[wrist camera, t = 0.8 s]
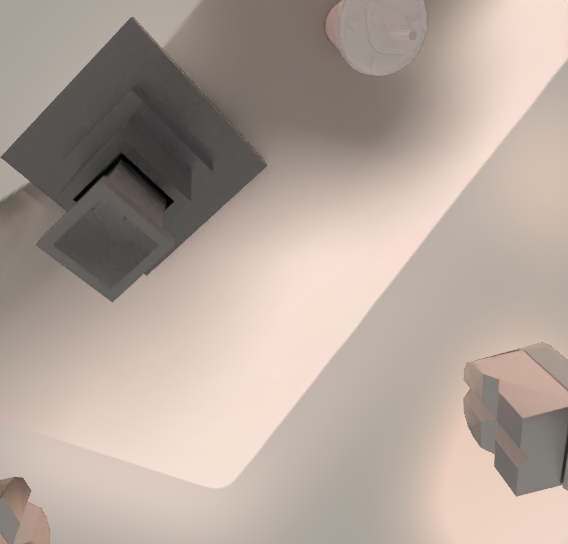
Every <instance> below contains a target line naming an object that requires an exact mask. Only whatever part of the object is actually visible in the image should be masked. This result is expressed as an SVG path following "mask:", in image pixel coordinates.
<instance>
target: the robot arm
mask: <svg viewBox="0 0 568 544" xmlns="http://www.w3.org/2000/svg"><path fill="white" fill-rule="evenodd" d="M464 381H465V382H466V383H467V384H468V386H469V387H470V389H469V391H468V392H467V394H466V395H465V397H464V414H465V417H466V421H467V424H468V427H469V429H470V431H471V433H472V435H473V437H474V438H475V440H476V441H477V443H478V444H479V445H480V447H481V448H483V449H485V450H487V451H489V452H492V453H493V454H495V461H494V466H495V468H496V469H497V471H498V472H499V473H500V475H501V476H502V477H503V479H504V480H505V482H506V483H507V484H508V486H509V487H510V488H511V490H512V491H513V493H514V494H515V495H516V496H520V495H524V494H528V493H532V492H536V491H540V490H544V489H548V488H552V487H556V486H560V485H563V488H564V489H566V490H568V360H567V359H566V358H565V357H564V356H563V355H561V354H560V353H559V352H558V351H557V350H555V349H554V348H553V347H552V346H551V345H549V344H546V343H543V342H541V343H537V344H534V345H530V346H526V347H523V348H519V349H517V350H513V351H509V352H505V353H501V354H498V355H494V356H490V357H486V358H482V359H479V360H475V361H471V362H467V363H466V365H465V368H464ZM30 492H31V489H30V488H29V486H28V485H27V483H26V482H25V480H24V479H23V478H20V477H13V478H8V479H4V480H0V544H50V528H49V525H48V521H47V517H46V515H45V514H44V512H43V510H42V508H41V507H38V506H36V505H34V504H32V503H30V502H28V499H29V496H30Z"/></svg>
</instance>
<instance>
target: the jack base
mask: <svg viewBox="0 0 568 544" xmlns="http://www.w3.org/2000/svg"><path fill="white" fill-rule="evenodd" d="M120 152H122V153H123V154H124V155H125V156H126V157H127V158H128V159H129V160H130V161H131V162H133V163H134V164H135V165H136V166H137V167H138V168H139V169H140V170H141V171H142V172H143V173H144V174H145V175H147V176H148V177H149V178H150V179H151V180H152V181H153V182H154V183H155V184H156V185H157V186H158V187H160V188H161V189H162V190H163V191H164V192H165V193H166V194H167V201H166V207H165V213H164V219H163V225H162V227H163V228H164V229H165V230H166V231H167V232H168V233H169V234H171V235H172V236H173V237H174V238H175V245H174V246H173V247H172V248H171V249H170V250H169V251H168V252H167V253H166V254H165V255H163V256H162V257H161V258H160V259H159V260H158V261H157V262H156V263H155V264H154V265H152V266H151V267H150V268H149V269H148V270H147V271H146V272H145V273H144V274H145V275H148V274H149V273H150V272H151V271H152V270H153V269H154V268H156V267H157V266H158V265H159V264H160V263H161V262H162V261H163V260H164V259H165V258H166V257H168V256H169V255H170V254H171V253H172V252H173V251H174V250H175V249H176V248H177V247H179V246H180V245H181V244H182V243H183V242H184V241H185V240H186V239H187V238H188V237H189V236H191V235H192V234H193V233H194V232H195V231H196V230H197V229H198V228H199V227H200V226H202V225H203V224H204V223H205V222H206V221H207V220H208V219H209V218H210V217H211V216H212V215H214V214H215V213H216V212H217V211H218V210H219V209H220V208H221V207H222V206H223V205H225V204H226V203H227V202H228V201H229V200H230V199H231V198H232V197H233V196H234V195H235V194H237V193H238V192H239V191H240V190H241V189H242V188H243V187H244V186H245V185H246V184H248V183H249V182H250V181H251V180H252V179H253V178H254V177H255V176H256V175H257V174H258V173H260V172H261V171H262V170H263V169H264V168H265V167H266V166H267V164H266V162H265V161H264V160H263V158H262V157H261V156H260V155H259V154H258V153H257V152H256V151H255V150H254V149H253V148H252V146H251V145H250V144H249V143H248V142H247V141H246V140H245V139H244V138H243V137H242V136H241V134H240V133H239V132H238V131H237V130H236V129H235V128H234V127H233V126H232V125H231V123H230V122H229V121H228V120H227V119H226V118H225V117H224V116H223V115H222V114H221V113H220V111H219V110H218V109H217V108H216V107H215V106H214V105H213V104H212V103H211V102H210V100H209V99H208V98H207V97H206V96H205V95H204V94H203V93H202V92H201V91H200V90H199V88H198V87H197V86H196V85H195V84H194V83H193V82H192V81H191V80H190V79H189V78H188V76H187V75H186V74H185V73H184V72H183V71H182V70H181V69H180V68H179V67H178V65H177V64H176V63H175V62H174V61H173V60H172V59H171V58H170V57H169V56H168V55H167V53H166V52H165V51H164V50H163V49H162V48H161V47H160V46H159V45H158V44H157V43H156V41H155V40H154V39H153V38H152V37H151V36H150V35H149V34H148V33H147V32H146V31H145V29H144V28H143V27H142V26H141V25H140V24H139V23H138V22H137V21H136V20H135V19H134V18H133V17H131V18H130V19H129V20H128V21H127V22H126V23H125V24H124V26H123V27H122V28H121V29H120V30H119V31H118V32H117V33H116V34H115V35H114V36H113V37H112V39H110V41H109V42H108V43H107V44H106V45H105V46H104V47H103V48H102V49H101V50H100V51H99V52H98V53H97V55H96V56H95V57H94V58H93V59H92V60H91V61H90V62H89V63H88V64H87V65H86V66H85V67H84V68H83V69H82V71H81V72H80V73H79V74H78V75H77V76H76V77H75V78H74V79H73V80H72V81H71V82H70V83H69V85H68V86H67V87H66V88H65V89H64V90H63V91H62V92H61V93H60V94H59V95H58V96H57V97H56V98H55V100H54V101H53V102H52V103H51V104H50V105H49V106H48V107H47V108H46V109H45V110H44V111H43V112H42V113H41V115H40V116H39V117H38V118H37V119H36V120H35V121H34V122H33V123H32V124H31V125H30V126H29V127H28V128H27V130H26V131H25V132H24V133H23V134H22V135H21V136H20V137H19V138H18V139H17V140H16V141H15V142H14V143H13V145H12V146H11V147H10V148H9V149H8V150H7V151H6V152H5V153H4V154H3V155H2V156H1V158H2V159H3V160H5V161H6V162H7V163H8V164H10V165H11V166H12V167H13V168H14V169H16V170H17V171H18V172H20V173H21V174H22V175H23V176H24V177H26V178H27V179H28V180H29V181H31V182H32V183H33V184H34V185H35V186H37V187H38V188H39V189H40V190H42V191H43V192H44V193H45V194H47V195H48V196H49V197H50V198H52V199H53V200H54V201H55V202H56V203H58V204H59V205H60V206H61V207H63V208H64V209H65V210H66V211H69V210H70V209H71V208H72V207H73V206H74V205H75V204H76V203H77V202H78V201H79V200H80V199H81V198H82V197H83V196H84V195H85V193H86V192H87V190H88V189H89V187H90V185H91V184H92V182H93V179H94V178H95V177H96V176H97V175H98V174H99V173H100V172H101V171H102V170H103V169H104V168H105V167H106V166H107V165H108V164H109V163H110V162H111V161H112V160H113V159H114V158H115V157H116V156H117V155H118V154H119V153H120Z"/></svg>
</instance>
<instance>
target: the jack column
mask: <svg viewBox="0 0 568 544" xmlns="http://www.w3.org/2000/svg"><path fill="white" fill-rule="evenodd" d="M166 201H167V194H166V193H165V192H164V191H163V190H162V189H161V188H160V187H158V186H157V185H156V184H155V183H154V182H153V181H152V180H151V179H150V178H149V177H148V176H147V175H145V174H144V173H143V172H142V171H141V170H140V169H139V168H138V167H137V166H136V165H135V164H134V163H133V162H131V161H130V160H129V159H128V158H127V157H126V156H125V155H124V154H123V153H122V152H120V153H119V154H118V155H117V156H116V157H115V158H114V159H113V160H112V161H111V162H110V163H109V164H108V165H107V166H106V167H105V168H104V169H103V170H102V171H101V172H100V173H99V174H98V175H97V176H96V177H95V178H94V179H93V182H92V184H91V185H90V187H89V189H88V190H87V192H86V193H85V195H84V196H83V197H82V198H81V199H80V200H79V201H78V202H77V203H76V204H75V205H74V206H73V207H72V208H71V209H70V210H69V211H68V212H67V213H66V214H65V215H64V216H63V217H62V218H61V219H60V220H59V221H58V222H57V223H56V224H55V225H54V226H53V227H52V228H51V229H49V230H48V231H47V232H46V233H45V234H44V235H43V236H42V237H41V239H40V240H39V242H38V243H37V244H36V245H37V246H38V247H39V248H41V249H42V250H43V251H45V252H46V253H47V254H49V255H50V256H51V257H53V258H54V259H55V260H57V261H58V262H59V263H61V264H62V265H63V266H65V267H66V268H67V269H69V270H70V271H71V272H73V273H74V274H75V275H77V276H78V277H79V278H81V279H82V280H83V281H85V282H86V283H87V284H89V285H90V286H91V287H93V288H94V289H95V290H97V291H98V292H99V293H101V294H102V295H103V296H105V297H106V298H107V299H109V300H110V301H111V302H113V301H114V300H115V299H116V298H118V297H119V296H120V295H121V294H122V293H123V292H124V291H125V290H126V289H127V288H128V287H130V286H131V285H132V284H133V283H134V282H135V281H136V280H137V279H138V278H139V277H140V276H142V275H143V274H144V273H145V272H146V271H147V270H148V269H149V268H150V267H151V266H152V265H154V264H155V263H156V262H157V261H158V260H159V259H160V258H161V257H162V256H163V255H165V254H166V253H167V252H168V251H169V250H170V249H171V248H172V247H173V246H174V245H175V238H174V237H173V236H172V235H171V234H169V233H168V232H167V231H166V230H165V229H164V228H163V227H162V225H163V219H164V213H165V207H166Z"/></svg>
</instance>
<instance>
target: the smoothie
mask: <svg viewBox="0 0 568 544" xmlns="http://www.w3.org/2000/svg"><path fill="white" fill-rule="evenodd" d="M325 28H326V34H327V36H328V38H329V40H330V41H331V43H332V44H333V45H335V46H336V47H337V48H338V49H339V51H340V52H341V54H342V56H343V58H344V59H345V61H346V62H347V63H348V64H349V65H350V66H351V67H352V68H353V69H355V70H357V71H359V72H361V73H363V74H368V75H373V76H384V75H389V74H392V73H395V72H397V71H399V70H400V69H402V68H403V67H405V66H406V65H407V64H408V63H409V62H410V61H411V60H412V59H413V58H414V57H415V56H416V54H417V53H418V51H419V49H420V47H421V45H422V43H423V40H424V37H425V34H426V28H427V12H426V6H425V3H424V0H342V1H340V2H339V3H338V4H336V5H335V6H334V7H333V8H332V9H331V10H330V12H329V14H328V16H327V19H326V24H325Z"/></svg>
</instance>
